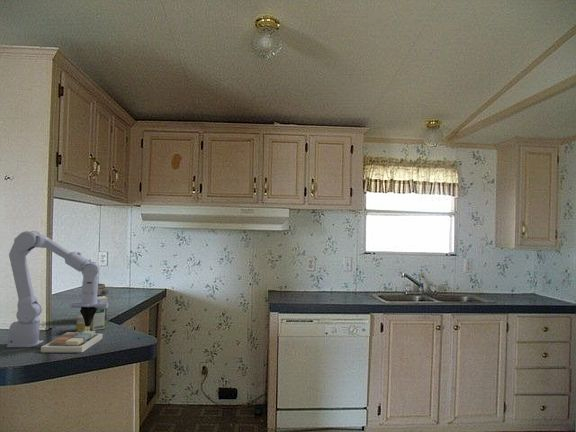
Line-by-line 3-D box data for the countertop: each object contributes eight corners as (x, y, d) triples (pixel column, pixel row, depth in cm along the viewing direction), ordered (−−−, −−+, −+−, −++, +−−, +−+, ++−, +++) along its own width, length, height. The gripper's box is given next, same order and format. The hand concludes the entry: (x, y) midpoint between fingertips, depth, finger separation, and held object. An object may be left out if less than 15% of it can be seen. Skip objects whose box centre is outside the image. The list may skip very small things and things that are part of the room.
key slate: (72, 341, 147) (72, 337, 147) (77, 338, 151) (78, 334, 151) (84, 342, 147) (84, 337, 147) (89, 338, 152) (89, 334, 152)
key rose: (61, 339, 149) (61, 335, 149) (67, 336, 154) (67, 332, 154) (73, 339, 150) (73, 335, 150) (78, 336, 154) (78, 332, 154)
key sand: (65, 346, 141) (65, 341, 141) (71, 342, 146) (71, 338, 146) (77, 346, 142) (78, 341, 142) (83, 342, 146) (83, 338, 146)
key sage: (79, 338, 152) (79, 333, 152) (84, 335, 157) (84, 330, 157) (90, 338, 153) (90, 333, 153) (95, 335, 157) (95, 330, 157)
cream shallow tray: (40, 352, 139) (40, 346, 139) (66, 338, 158) (66, 333, 158) (81, 352, 140) (82, 347, 140) (102, 338, 159) (102, 333, 159)
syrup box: (92, 330, 171) (94, 298, 171) (89, 327, 175) (91, 296, 176) (106, 328, 174) (108, 297, 175) (102, 326, 179) (104, 295, 179)
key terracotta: (54, 343, 144) (54, 339, 144) (60, 340, 148) (60, 336, 148) (66, 344, 144) (66, 339, 144) (71, 340, 148) (72, 336, 148)
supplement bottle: (86, 329, 172) (87, 307, 173) (91, 331, 169) (93, 309, 169) (73, 331, 168) (75, 309, 168) (79, 334, 165) (80, 311, 165)
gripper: (66, 293, 151) (64, 328, 150) (104, 294, 152) (102, 328, 152) (74, 290, 158) (73, 323, 157) (110, 291, 159) (109, 324, 159)
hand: (88, 325), depth 155 cm, fingers closed
